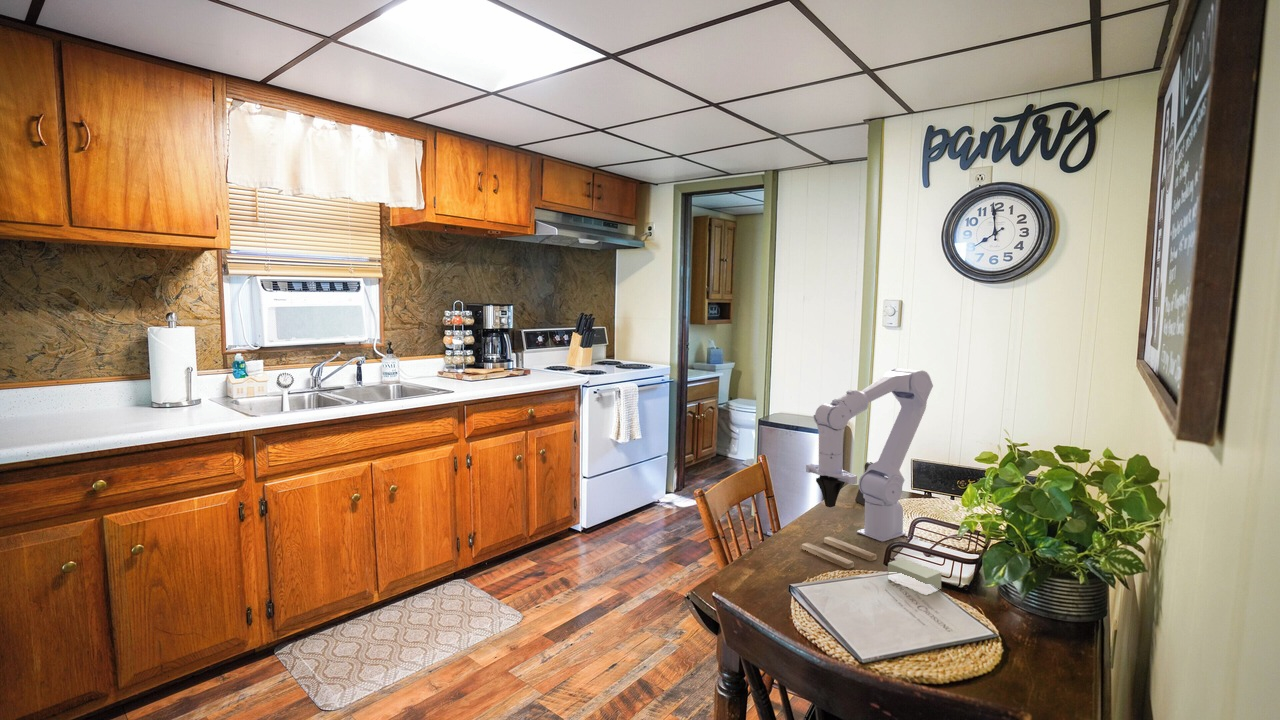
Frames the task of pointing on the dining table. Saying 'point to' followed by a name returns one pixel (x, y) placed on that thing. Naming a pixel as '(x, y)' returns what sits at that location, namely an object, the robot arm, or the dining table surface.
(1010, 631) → the dining table surface
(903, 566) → the green block
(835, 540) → the twin beige rails
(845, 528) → the dining table surface
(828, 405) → the robot arm
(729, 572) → the dining table surface
